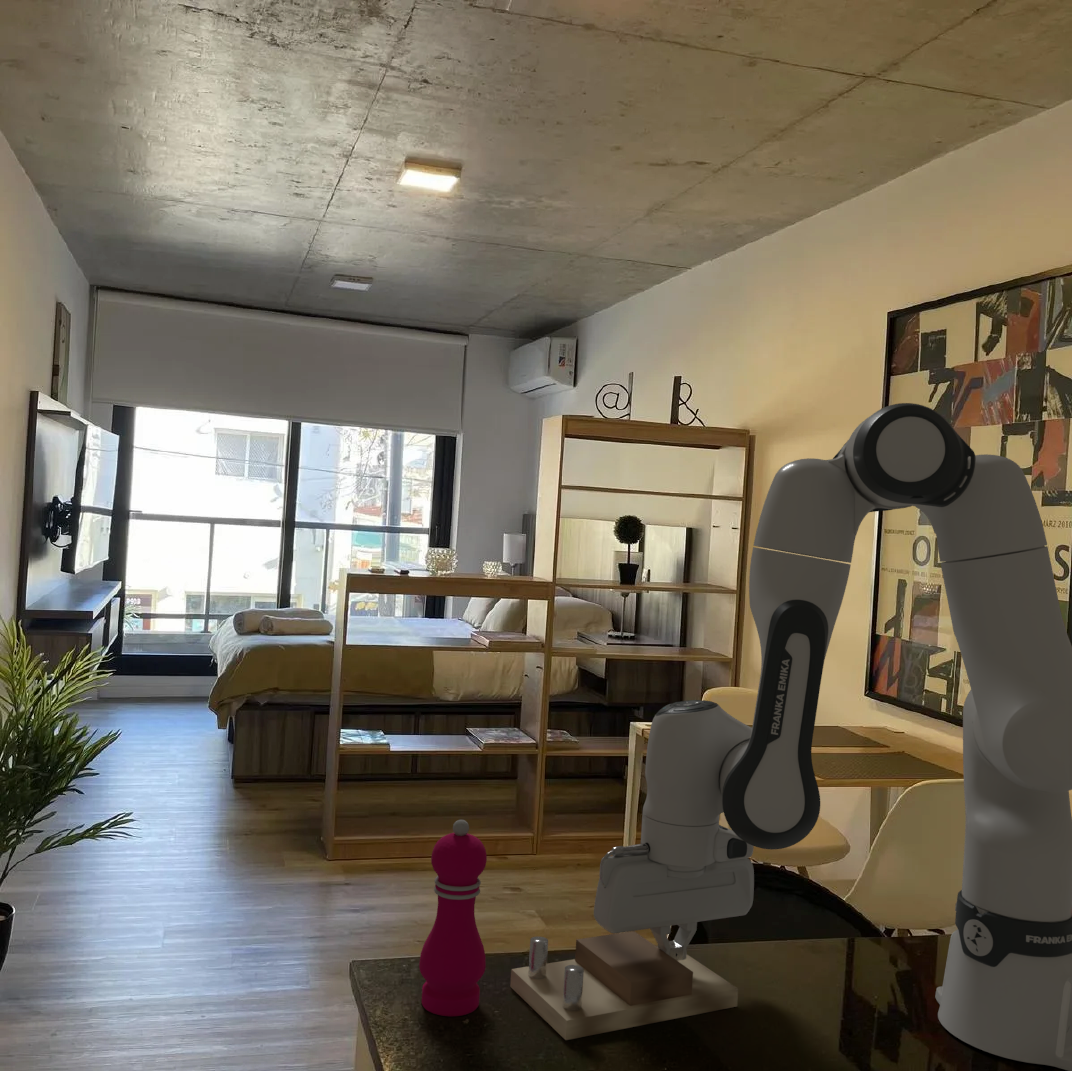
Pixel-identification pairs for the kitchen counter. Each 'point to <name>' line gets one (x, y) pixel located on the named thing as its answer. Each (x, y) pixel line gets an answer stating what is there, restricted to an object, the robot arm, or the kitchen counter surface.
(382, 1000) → the kitchen counter surface
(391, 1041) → the kitchen counter surface
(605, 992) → the board
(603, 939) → the walnut plate
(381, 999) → the kitchen counter surface
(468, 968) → the pepper mill
